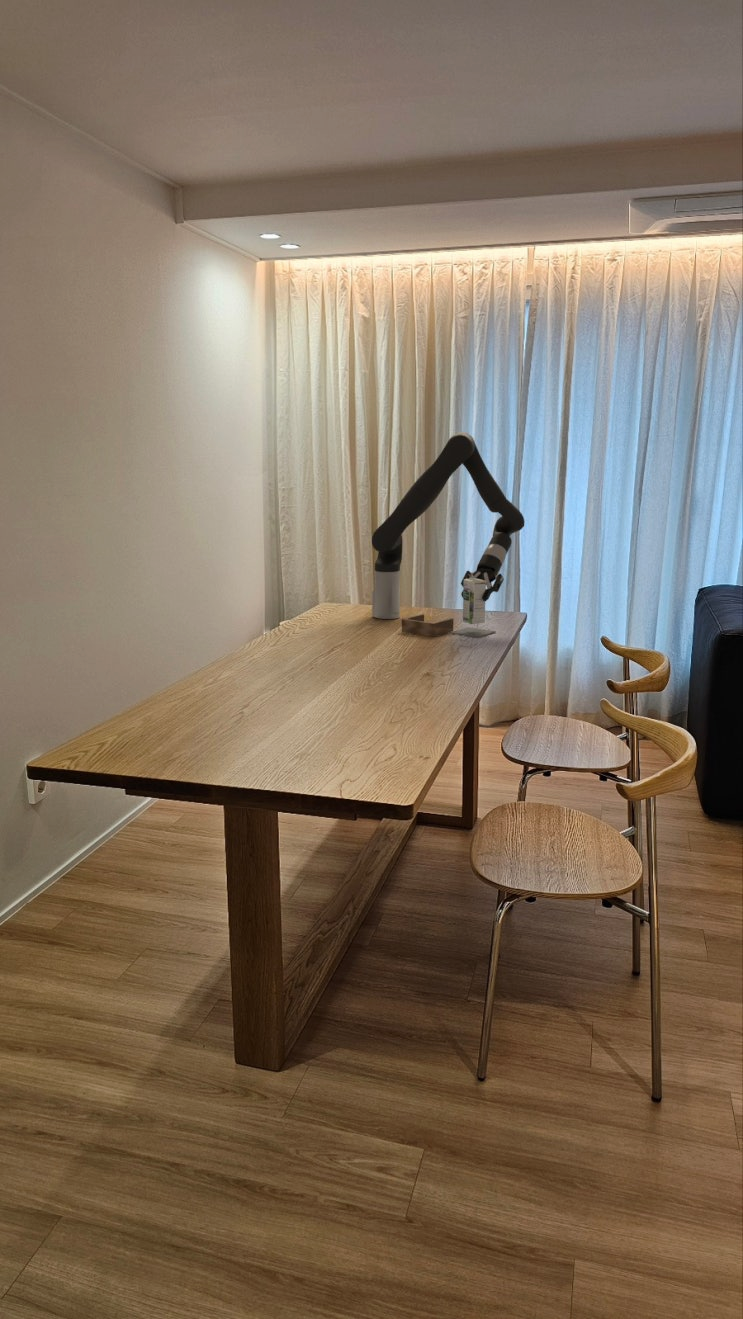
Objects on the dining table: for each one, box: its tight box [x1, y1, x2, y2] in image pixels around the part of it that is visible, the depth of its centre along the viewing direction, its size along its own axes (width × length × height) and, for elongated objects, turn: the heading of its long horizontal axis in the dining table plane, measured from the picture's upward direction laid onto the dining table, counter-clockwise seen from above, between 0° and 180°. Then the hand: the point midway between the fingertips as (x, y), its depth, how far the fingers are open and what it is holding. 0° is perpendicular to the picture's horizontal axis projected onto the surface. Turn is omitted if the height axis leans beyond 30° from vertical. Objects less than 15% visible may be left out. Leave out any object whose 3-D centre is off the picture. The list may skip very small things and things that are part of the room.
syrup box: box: [462, 578, 487, 625], centre depth 310 cm, size 6×6×14 cm
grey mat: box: [450, 626, 497, 639], centre depth 312 cm, size 11×11×1 cm
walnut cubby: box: [401, 613, 454, 638], centre depth 314 cm, size 13×12×4 cm
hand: (473, 598), depth 309 cm, fingers closed on syrup box, 7 cm apart
